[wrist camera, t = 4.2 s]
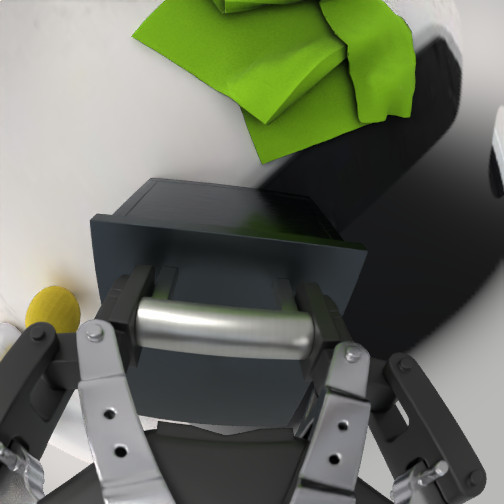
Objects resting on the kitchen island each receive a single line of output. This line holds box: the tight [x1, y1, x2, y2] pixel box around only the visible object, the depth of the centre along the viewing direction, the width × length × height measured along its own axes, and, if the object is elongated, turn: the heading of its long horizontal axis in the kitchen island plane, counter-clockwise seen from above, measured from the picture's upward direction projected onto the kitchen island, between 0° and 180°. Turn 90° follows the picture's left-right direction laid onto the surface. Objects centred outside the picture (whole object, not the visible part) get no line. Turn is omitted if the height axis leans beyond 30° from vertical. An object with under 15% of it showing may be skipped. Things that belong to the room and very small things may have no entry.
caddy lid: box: [90, 214, 368, 426], centre depth 14 cm, size 16×13×5 cm
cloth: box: [131, 0, 416, 164], centre depth 14 cm, size 20×22×2 cm
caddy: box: [113, 178, 344, 241], centre depth 21 cm, size 16×13×10 cm
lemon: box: [25, 286, 81, 333], centre depth 22 cm, size 6×6×8 cm
